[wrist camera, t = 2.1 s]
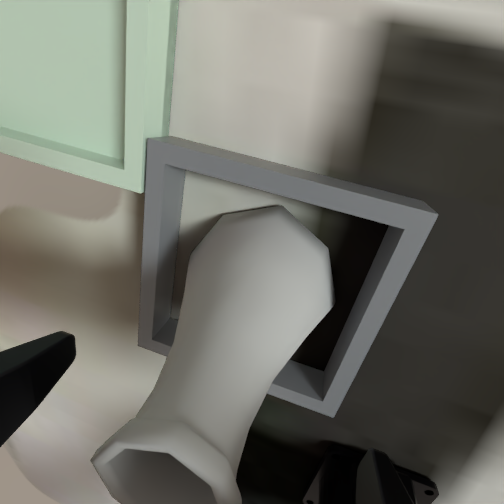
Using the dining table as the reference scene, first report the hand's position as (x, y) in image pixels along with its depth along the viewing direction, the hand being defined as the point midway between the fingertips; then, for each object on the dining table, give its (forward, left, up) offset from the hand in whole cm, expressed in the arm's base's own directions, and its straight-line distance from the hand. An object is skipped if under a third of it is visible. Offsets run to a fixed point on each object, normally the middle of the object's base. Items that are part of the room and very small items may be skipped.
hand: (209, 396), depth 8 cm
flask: (0, 0, -8) cm, 8 cm away
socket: (0, 0, -7) cm, 7 cm away
